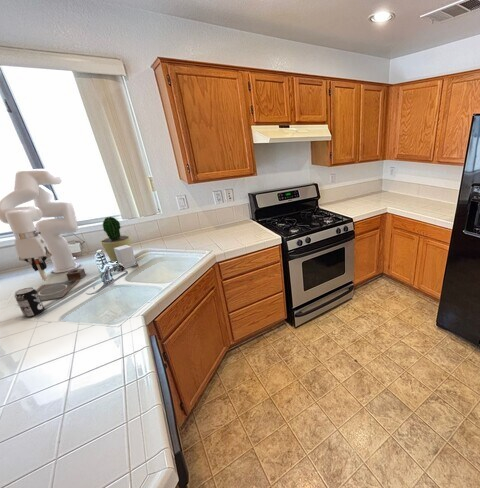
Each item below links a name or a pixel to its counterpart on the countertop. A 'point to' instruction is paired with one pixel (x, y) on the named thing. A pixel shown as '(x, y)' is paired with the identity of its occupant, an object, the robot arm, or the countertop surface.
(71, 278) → the pen holder
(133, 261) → the white packaging box
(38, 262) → the marker
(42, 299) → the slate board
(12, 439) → the countertop surface
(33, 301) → the beverage can
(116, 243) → the potted cactus
